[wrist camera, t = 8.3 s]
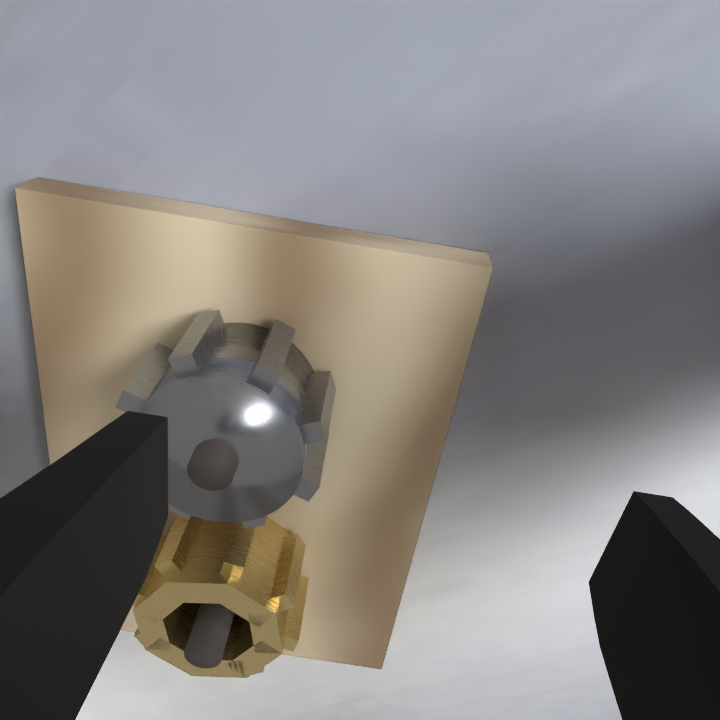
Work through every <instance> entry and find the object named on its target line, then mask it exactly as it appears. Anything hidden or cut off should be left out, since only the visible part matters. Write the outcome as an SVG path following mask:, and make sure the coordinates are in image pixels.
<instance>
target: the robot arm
mask: <svg viewBox="0 0 720 720" xmlns="http://www.w3.org/2000/svg"><path fill="white" fill-rule="evenodd" d="M167 519H168V417H164V416H158V415H151V414H145V413H139V412H133V411H127V412H125V413H124V414H122V415H121V416H119V417H118V418H116V419H115V420H113V421H112V422H111V423H109V424H108V425H106V426H105V427H103V428H102V429H100V430H99V431H98V432H96V433H95V434H93V435H92V436H91V437H89V438H88V439H86V440H85V441H84V442H82V443H81V444H79V445H78V446H76V447H75V448H74V449H72V450H71V451H69V452H68V453H66V454H65V455H64V456H62V457H61V458H59V459H58V460H57V461H55V462H54V463H52V464H51V465H49V466H48V467H46V468H45V469H43V470H42V471H40V472H39V473H37V474H36V475H35V476H33V477H32V478H30V479H29V480H27V481H26V482H24V483H23V484H21V485H20V486H18V487H17V488H15V489H14V490H12V491H11V492H9V493H8V494H6V495H5V496H3V497H2V498H0V720H75V719H76V717H77V715H78V713H79V711H80V709H81V707H82V705H83V703H84V701H85V699H86V697H87V695H88V693H89V691H90V689H91V687H92V685H93V683H94V681H95V679H96V677H97V675H98V673H99V671H100V669H101V667H102V665H103V663H104V661H105V659H106V657H107V655H108V653H109V651H110V649H111V647H112V645H113V643H114V641H115V639H116V637H117V635H118V633H119V631H120V629H121V627H122V625H123V623H124V621H125V619H126V617H127V615H128V613H129V611H130V609H131V607H132V605H133V603H134V601H135V599H136V597H137V595H138V593H139V591H140V589H141V587H142V585H143V583H144V581H145V579H146V577H147V574H148V571H149V569H150V566H151V563H152V561H153V558H154V555H155V553H156V550H157V547H158V544H159V541H160V539H161V536H162V533H163V530H164V527H165V524H166V522H167ZM589 586H590V593H591V599H592V605H593V611H594V618H595V623H596V628H597V633H598V638H599V643H600V648H601V651H602V655H603V658H604V662H605V665H606V668H607V671H608V675H609V678H610V681H611V684H612V688H613V691H614V694H615V698H616V701H617V704H618V707H619V710H620V713H621V717H622V720H720V539H719V538H718V537H717V536H716V535H714V534H713V533H712V532H711V531H710V530H709V529H708V528H707V527H706V526H705V525H704V524H703V523H702V522H700V521H699V520H698V519H697V518H696V517H695V516H694V515H693V514H692V513H690V512H689V511H688V510H687V509H686V508H685V507H683V506H682V505H681V504H680V503H679V502H677V501H676V500H675V499H674V498H672V497H666V496H660V495H654V494H647V493H641V492H635V491H634V492H633V494H632V496H631V498H630V500H629V502H628V504H627V506H626V508H625V510H624V512H623V514H622V516H621V518H620V520H619V522H618V524H617V526H616V528H615V530H614V532H613V534H612V536H611V538H610V540H609V542H608V544H607V546H606V548H605V550H604V552H603V554H602V556H601V558H600V560H599V562H598V564H597V566H596V568H595V570H594V572H593V574H592V576H591V579H590V581H589Z"/></svg>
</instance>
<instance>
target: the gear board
mask: <svg viewBox="0 0 720 720" xmlns="http://www.w3.org/2000/svg"><path fill="white" fill-rule="evenodd" d="M15 193H16V201H17V209H18V217H19V225H20V233H21V240H22V248H23V256H24V264H25V272H26V280H27V287H28V295H29V303H30V311H31V319H32V327H33V335H34V342H35V350H36V358H37V366H38V374H39V382H40V389H41V397H42V405H43V413H44V421H45V429H46V436H47V444H48V452H49V460H50V465H51V464H52V463H54V462H55V461H57V460H58V459H59V458H61V457H62V456H64V455H65V454H66V453H68V452H69V451H71V450H72V449H74V448H75V447H76V446H78V445H79V444H81V443H82V442H84V441H85V440H86V439H88V438H89V437H91V436H92V435H93V434H95V433H96V432H98V431H99V430H100V429H102V428H103V427H105V426H106V425H108V424H109V423H111V422H112V421H113V420H115V419H116V418H118V417H119V416H121V415H122V414H124V413H125V412H124V411H122V410H120V409H118V408H116V407H115V406H116V404H117V402H118V400H119V398H120V396H121V394H122V392H123V390H124V388H125V387H126V386H127V384H128V383H129V382H130V380H131V379H132V378H133V376H134V375H135V373H136V372H137V371H138V369H139V368H140V367H141V365H142V364H143V363H144V361H145V360H146V358H147V357H148V356H149V354H150V353H151V352H152V350H153V349H154V348H155V346H156V345H157V343H160V344H162V345H164V346H166V347H168V348H170V349H172V350H174V349H175V347H176V346H177V344H178V343H179V341H180V340H181V338H182V337H183V335H184V334H185V332H186V331H187V329H188V328H189V327H190V325H191V324H192V322H193V321H194V319H195V318H196V316H197V315H198V314H199V313H204V312H209V311H214V310H219V311H220V313H221V316H222V318H223V321H224V323H249V324H254V325H258V326H262V327H264V328H267V329H270V328H271V326H272V325H273V323H274V321H275V320H276V319H277V320H279V321H281V322H283V323H285V324H286V325H288V326H290V327H292V328H294V329H295V330H296V331H295V334H294V337H293V340H292V343H293V344H294V345H295V346H296V347H297V348H298V349H299V350H300V351H301V352H302V353H303V354H304V356H305V357H306V358H307V359H308V361H309V363H310V365H311V366H312V368H313V371H314V373H319V372H324V371H330V370H331V374H332V377H333V380H334V383H335V386H336V392H335V397H334V403H333V409H332V415H331V420H330V426H329V436H328V442H327V447H326V453H325V459H324V465H323V471H322V476H321V482H320V488H319V489H318V490H317V491H316V493H315V494H314V495H313V497H312V498H311V499H310V501H309V502H308V501H306V500H303V499H301V498H299V497H297V496H295V495H293V496H292V497H291V498H290V499H289V500H288V502H286V503H285V504H284V505H283V506H282V507H281V508H279V509H277V510H276V511H274V512H273V513H271V514H268V515H267V516H268V517H269V518H271V519H272V520H273V521H275V522H276V523H278V524H279V525H281V526H282V527H283V528H285V529H286V530H288V531H289V532H291V533H292V534H297V533H298V535H299V536H300V538H301V539H302V541H303V542H304V544H305V545H306V547H305V553H304V558H303V564H302V569H301V575H302V576H305V577H309V582H308V588H307V594H306V600H305V607H304V613H303V619H302V625H301V631H300V637H299V641H298V643H297V645H296V647H295V649H294V651H293V652H292V651H289V650H285V649H283V652H282V654H283V655H290V656H297V657H303V658H310V659H316V660H323V661H330V662H336V663H343V664H350V665H356V666H363V667H370V668H376V669H382V666H383V662H384V659H385V655H386V651H387V648H388V644H389V641H390V637H391V633H392V630H393V626H394V623H395V619H396V615H397V612H398V608H399V605H400V601H401V597H402V594H403V590H404V587H405V583H406V579H407V576H408V572H409V569H410V565H411V561H412V558H413V554H414V551H415V547H416V543H417V540H418V536H419V533H420V529H421V525H422V522H423V518H424V515H425V511H426V507H427V504H428V500H429V497H430V493H431V489H432V486H433V482H434V479H435V475H436V471H437V468H438V464H439V461H440V457H441V454H442V450H443V446H444V443H445V439H446V436H447V432H448V428H449V425H450V421H451V418H452V414H453V410H454V407H455V403H456V400H457V396H458V392H459V389H460V385H461V382H462V378H463V374H464V371H465V367H466V364H467V360H468V356H469V353H470V349H471V346H472V342H473V338H474V335H475V331H476V328H477V324H478V320H479V317H480V313H481V310H482V306H483V302H484V299H485V295H486V292H487V288H488V284H489V281H490V277H491V274H492V270H493V266H492V263H491V261H490V258H489V255H488V253H486V252H480V251H474V250H468V249H462V248H456V247H450V246H444V245H438V244H432V243H426V242H420V241H414V240H408V239H402V238H396V237H390V236H384V235H378V234H372V233H366V232H360V231H355V230H349V229H343V228H337V227H331V226H325V225H319V224H313V223H307V222H301V221H295V220H289V219H283V218H277V217H271V216H265V215H259V214H253V213H247V212H241V211H235V210H229V209H223V208H217V207H212V206H206V205H200V204H194V203H188V202H182V201H176V200H170V199H164V198H158V197H152V196H146V195H140V194H134V193H128V192H122V191H116V190H110V189H104V188H98V187H92V186H86V185H80V184H75V183H69V182H63V181H57V180H51V179H45V178H39V177H38V178H35V179H33V180H31V181H29V182H27V183H25V184H22V185H20V186H18V187H16V188H15ZM238 464H239V457H238V454H237V452H236V451H235V449H234V448H233V447H232V446H230V445H229V444H227V443H226V442H223V441H220V440H205V441H203V442H201V443H199V444H198V445H197V446H196V448H195V450H194V452H193V454H192V456H191V458H190V460H189V463H188V465H187V474H188V476H189V478H190V480H191V481H192V482H193V483H194V484H195V485H197V486H198V487H200V488H203V489H206V490H211V491H218V490H222V489H225V488H226V487H228V486H229V485H230V484H231V483H232V481H233V478H234V475H235V472H236V469H237V467H238ZM170 506H171V505H169V504H168V519H167V522H166V524H165V527H164V530H163V533H164V534H167V533H168V532H169V531H170V530H171V528H172V526H173V523H174V521H175V519H176V517H177V514H176V513H173V512H171V511H169V508H170ZM134 607H135V606H132V607H131V609H130V611H129V613H128V615H127V617H126V619H125V621H124V623H123V625H122V627H121V629H120V630H124V631H131V632H136V630H137V628H138V626H137V623H136V620H135V616H134V613H133V609H134ZM234 614H235V613H234V612H233V611H231V610H229V609H228V608H226V607H225V606H223V605H221V604H213V603H201V604H200V607H199V610H198V613H197V616H196V619H195V622H194V625H193V627H192V630H191V633H190V636H189V639H188V642H187V645H186V648H185V651H184V657H185V659H186V660H187V661H188V662H189V663H190V664H192V665H194V666H196V667H199V668H214V667H216V666H218V665H219V664H220V663H221V660H222V657H223V653H224V650H225V646H226V642H227V639H228V635H229V632H230V628H231V624H232V621H233V617H234Z"/></svg>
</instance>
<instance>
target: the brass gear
mask: <svg viewBox="0 0 720 720" xmlns="http://www.w3.org/2000/svg"><path fill="white" fill-rule="evenodd" d="M305 547H306V545H305V544H304V542H303V541H302V539H301V538H300V536H299V535H298V533H297V534H292V533H291V532H289V531H288V530H286V529H285V528H283V527H282V526H281V525H279V524H278V523H276V522H275V521H273V520H272V519H271V518H269V517H268V516H267V519H266V523H265V525H263V526H256V527H249V528H244V527H243V524H242V522H216V521H210V520H205V519H201V518H198V517H194V516H191V517H190V518H189V519H187V518H184V517H182V516H180V515H178V514H177V517H176V519H175V521H174V523H173V526H172V528H171V530H170V531H169V532H168V533H167V534H164V533H162V536H161V539H160V541H159V544H158V547H157V550H156V553H155V555H154V558H153V561H152V563H151V566H150V569H149V571H148V574H147V577H146V579H145V581H144V583H143V585H142V587H141V589H140V591H139V593H138V595H137V597H136V599H135V601H134V603H133V605H132V606H135V607H134V609H133V613H134V616H135V620H136V623H137V626H138V628H137V630H136V632H135V635H134V636H135V637H136V638H137V639H138V640H139V641H140V642H141V644H142V645H143V646H144V647H145V650H147V651H149V652H151V653H152V654H154V655H156V656H158V657H159V658H161V659H163V660H165V661H167V662H168V663H170V664H172V665H174V666H175V667H177V668H179V669H181V670H182V671H184V672H186V673H188V674H189V675H191V676H211V677H240V678H247V677H249V676H250V675H252V674H256V673H261V672H263V670H264V666H265V665H266V664H268V663H269V662H271V661H272V660H274V659H275V658H277V657H278V656H280V655H281V654H282V652H283V649H285V650H289V651H292V652H293V651H294V649H295V647H296V645H297V643H298V641H299V637H300V631H301V625H302V619H303V613H304V607H305V600H306V594H307V588H308V582H309V577H305V576H302V575H301V569H302V564H303V558H304V553H305ZM201 603H213V604H221V605H223V606H225V607H226V608H228V609H229V610H231V611H233V612H234V613H235V614H234V617H233V621H232V624H231V628H230V632H229V635H228V639H227V642H226V646H225V650H224V653H223V657H222V660H221V663H220V664H219V665H218V666H216V667H214V668H199V667H196V666H194V665H192V664H190V663H189V662H188V661H187V660H186V659H185V657H184V651H185V648H186V645H187V642H188V639H189V636H190V633H191V630H192V627H193V625H194V622H195V619H196V616H197V613H198V610H199V607H200V604H201Z"/></svg>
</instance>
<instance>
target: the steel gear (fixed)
mask: <svg viewBox="0 0 720 720" xmlns="http://www.w3.org/2000/svg"><path fill="white" fill-rule="evenodd" d="M295 331H296V330H295V329H294V328H292V327H290V326H288V325H286V324H285V323H283V322H281V321H279V320H277V319H276V320H275V321H274V323H273V325H272V326H271V328H270V329H267V328H264V327H262V326H258V325H254V324H249V323H224V321H223V318H222V316H221V313H220V311H219V310H214V311H209V312H204V313H199V314H198V315H197V316H196V318H195V319H194V321H193V322H192V324H191V325H190V327H189V328H188V329H187V331H186V332H185V334H184V335H183V337H182V338H181V340H180V341H179V343H178V344H177V346H176V347H175V349H174V350H172V349H170V348H168V347H166V346H164V345H162V344H160V343H157V345H156V346H155V348H154V349H153V350H152V352H151V353H150V354H149V356H148V357H147V358H146V360H145V361H144V363H143V364H142V365H141V367H140V368H139V369H138V371H137V372H136V373H135V375H134V376H133V378H132V379H131V380H130V382H129V383H128V384H127V386H126V387H125V388H124V390H123V392H122V394H121V396H120V398H119V400H118V402H117V404H116V406H115V407H116V408H118V409H120V410H122V411H124V412H127V411H133V412H139V413H145V414H151V415H158V416H164V417H168V504H169V505H171V506H170V508H169V511H171V512H173V513H176V514H178V515H180V516H182V517H184V518H187V519H189V518H190V517H191V516H194V517H198V518H201V519H205V520H210V521H216V522H242V524H243V527H244V528H249V527H256V526H263V525H265V523H266V519H267V515H268V514H271V513H273V512H274V511H276V510H277V509H279V508H281V507H282V506H283V505H284V504H285V503H286V502H288V500H289V499H290V498H291V497H292V496H293V495H295V496H297V497H299V498H301V499H303V500H306V501H308V502H309V501H310V499H311V498H312V497H313V495H314V494H315V493H316V491H317V490H318V489H319V488H320V482H321V476H322V471H323V465H324V459H325V453H326V447H327V442H328V436H329V426H330V420H331V415H332V409H333V403H334V397H335V392H336V386H335V383H334V380H333V377H332V374H331V370H330V371H324V372H319V373H314V371H313V368H312V366H311V365H310V363H309V361H308V359H307V358H306V357H305V356H304V354H303V353H302V352H301V351H300V350H299V349H298V348H297V347H296V346H295V345H294V344H293V343H292V340H293V337H294V334H295ZM205 440H220V441H223V442H226V443H227V444H229V445H230V446H232V447H233V448H234V449H235V451H236V452H237V454H238V457H239V464H238V467H237V469H236V472H235V475H234V478H233V481H232V483H231V484H230V485H229V486H228V487H226V488H225V489H222V490H218V491H211V490H206V489H203V488H200V487H198V486H197V485H195V484H194V483H193V482H192V481H191V480H190V478H189V476H188V474H187V465H188V463H189V460H190V458H191V456H192V454H193V452H194V450H195V448H196V446H197V445H198V444H199V443H201V442H203V441H205Z"/></svg>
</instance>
